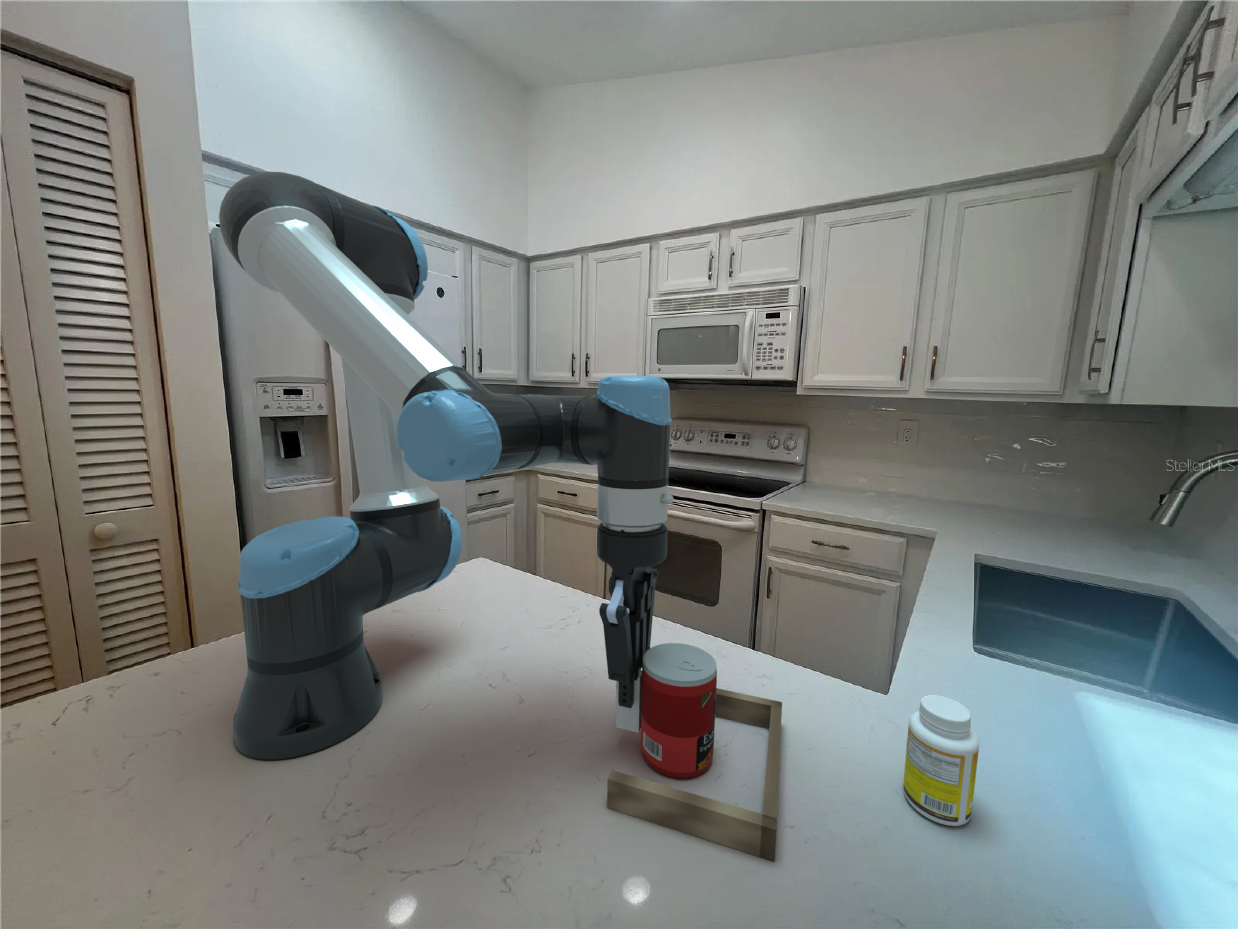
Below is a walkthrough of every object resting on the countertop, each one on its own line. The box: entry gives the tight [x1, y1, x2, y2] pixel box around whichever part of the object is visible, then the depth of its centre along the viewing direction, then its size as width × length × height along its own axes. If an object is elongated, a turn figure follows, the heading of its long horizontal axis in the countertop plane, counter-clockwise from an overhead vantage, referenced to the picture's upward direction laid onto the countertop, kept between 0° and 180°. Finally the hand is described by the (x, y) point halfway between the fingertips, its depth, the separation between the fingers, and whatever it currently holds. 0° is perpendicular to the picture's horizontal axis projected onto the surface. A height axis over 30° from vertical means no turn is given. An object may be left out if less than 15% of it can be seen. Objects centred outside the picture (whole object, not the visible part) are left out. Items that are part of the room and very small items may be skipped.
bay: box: [606, 687, 783, 863], centre depth 51 cm, size 15×18×3 cm
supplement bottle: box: [902, 694, 980, 827], centre depth 46 cm, size 6×6×10 cm
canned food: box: [640, 642, 718, 779], centre depth 52 cm, size 8×8×11 cm
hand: (629, 725), depth 54 cm, fingers closed
